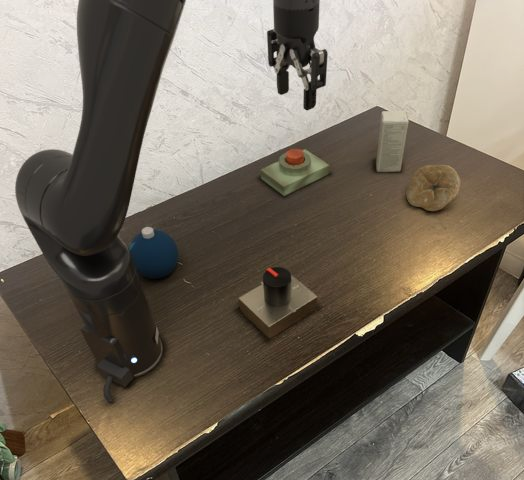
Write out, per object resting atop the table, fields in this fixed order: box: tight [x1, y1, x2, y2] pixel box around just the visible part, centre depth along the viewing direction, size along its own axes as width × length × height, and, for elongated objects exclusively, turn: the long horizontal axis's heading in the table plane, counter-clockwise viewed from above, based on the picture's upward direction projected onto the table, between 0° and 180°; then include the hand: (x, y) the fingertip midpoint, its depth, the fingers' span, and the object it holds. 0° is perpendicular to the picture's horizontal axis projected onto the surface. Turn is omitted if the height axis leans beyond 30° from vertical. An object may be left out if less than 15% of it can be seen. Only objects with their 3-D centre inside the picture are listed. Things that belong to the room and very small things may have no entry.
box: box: [375, 110, 410, 173], centre depth 103 cm, size 5×4×11 cm
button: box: [285, 148, 304, 165], centre depth 103 cm, size 4×4×2 cm
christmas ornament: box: [128, 226, 179, 279], centre depth 86 cm, size 8×8×10 cm
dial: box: [262, 266, 292, 307], centre depth 79 cm, size 4×4×5 cm
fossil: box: [405, 164, 462, 212], centre depth 97 cm, size 9×4×10 cm
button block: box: [260, 148, 330, 197], centre depth 105 cm, size 12×8×4 cm, turn 126°
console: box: [238, 274, 318, 340], centre depth 82 cm, size 10×9×3 cm
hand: (296, 100), depth 94 cm, fingers open, 7 cm apart
